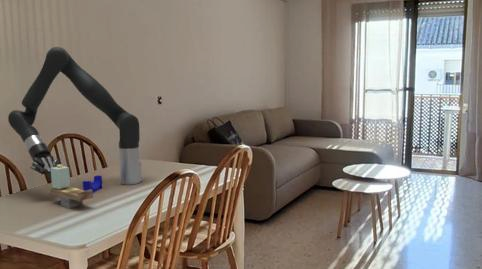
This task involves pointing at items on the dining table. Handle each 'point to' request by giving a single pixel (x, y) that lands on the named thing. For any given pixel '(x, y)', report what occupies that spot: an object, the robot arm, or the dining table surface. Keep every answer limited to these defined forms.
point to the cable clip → (93, 184)
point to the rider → (60, 177)
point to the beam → (72, 196)
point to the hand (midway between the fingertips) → (54, 179)
